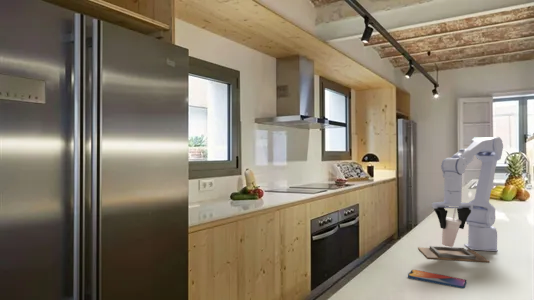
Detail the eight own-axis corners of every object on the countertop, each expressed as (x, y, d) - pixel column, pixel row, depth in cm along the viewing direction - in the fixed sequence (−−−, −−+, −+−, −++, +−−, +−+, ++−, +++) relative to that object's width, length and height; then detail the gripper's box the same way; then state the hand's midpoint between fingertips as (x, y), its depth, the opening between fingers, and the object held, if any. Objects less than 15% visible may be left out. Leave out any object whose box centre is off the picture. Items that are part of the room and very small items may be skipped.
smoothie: (460, 249, 136) (467, 211, 135) (443, 247, 136) (449, 209, 135) (451, 242, 143) (458, 206, 141) (435, 240, 142) (441, 204, 141)
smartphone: (464, 290, 104) (464, 286, 104) (407, 278, 112) (407, 275, 112) (466, 283, 110) (466, 279, 110) (412, 272, 118) (412, 269, 118)
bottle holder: (473, 251, 144) (473, 247, 144) (489, 262, 130) (489, 258, 130) (417, 248, 146) (418, 244, 146) (427, 258, 133) (427, 254, 133)
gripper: (465, 189, 143) (464, 226, 143) (428, 189, 142) (427, 226, 142) (477, 192, 136) (476, 230, 136) (437, 191, 135) (437, 230, 135)
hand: (452, 228), depth 138 cm, fingers closed on smoothie, 6 cm apart
